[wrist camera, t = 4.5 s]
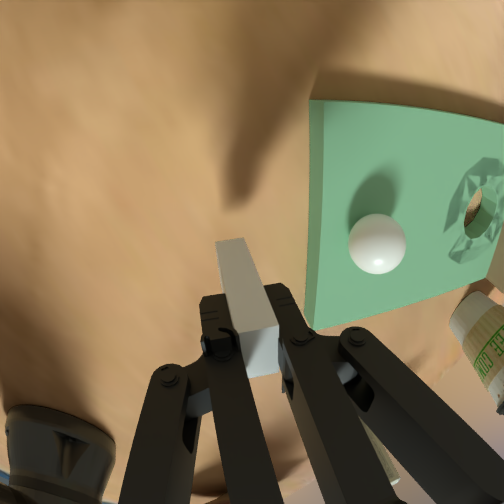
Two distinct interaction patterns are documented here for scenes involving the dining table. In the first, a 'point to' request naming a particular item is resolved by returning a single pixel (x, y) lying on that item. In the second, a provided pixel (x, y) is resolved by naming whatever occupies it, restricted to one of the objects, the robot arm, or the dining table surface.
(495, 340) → the coffee cup
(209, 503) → the vase
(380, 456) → the skincare box
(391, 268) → the ball
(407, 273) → the putting platform
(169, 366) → the robot arm
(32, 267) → the dining table surface
